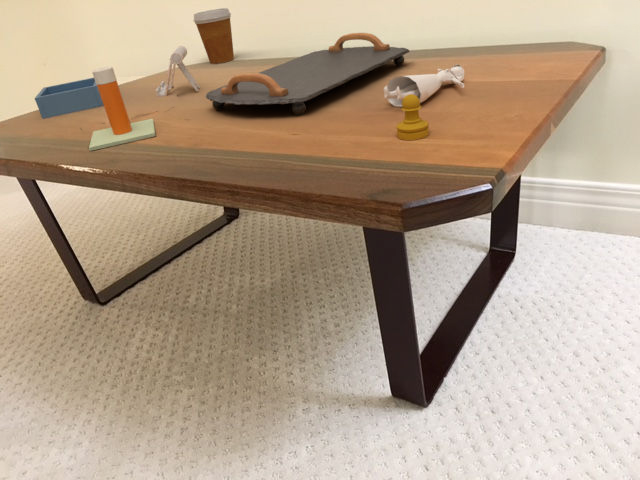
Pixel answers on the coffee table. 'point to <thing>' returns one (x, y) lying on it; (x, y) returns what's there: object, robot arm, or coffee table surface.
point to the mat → (122, 135)
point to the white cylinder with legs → (175, 59)
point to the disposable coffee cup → (216, 34)
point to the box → (68, 98)
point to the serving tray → (307, 75)
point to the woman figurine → (421, 84)
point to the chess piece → (412, 120)
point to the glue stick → (112, 100)
